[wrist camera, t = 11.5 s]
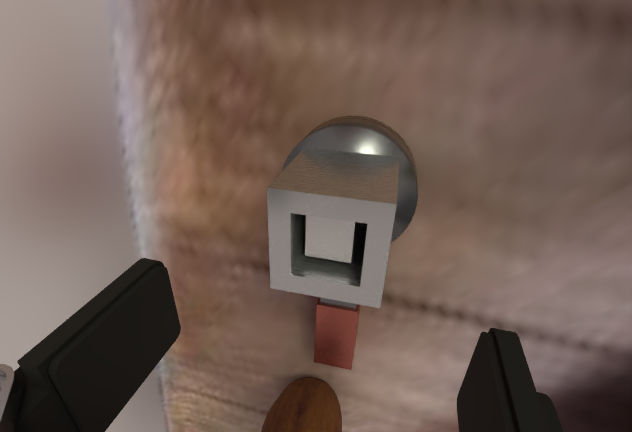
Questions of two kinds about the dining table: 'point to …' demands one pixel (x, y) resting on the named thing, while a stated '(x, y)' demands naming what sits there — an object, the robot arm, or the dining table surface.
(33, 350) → the robot arm
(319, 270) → the socket
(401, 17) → the dining table surface
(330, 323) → the ratchet
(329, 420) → the wooden figurine
